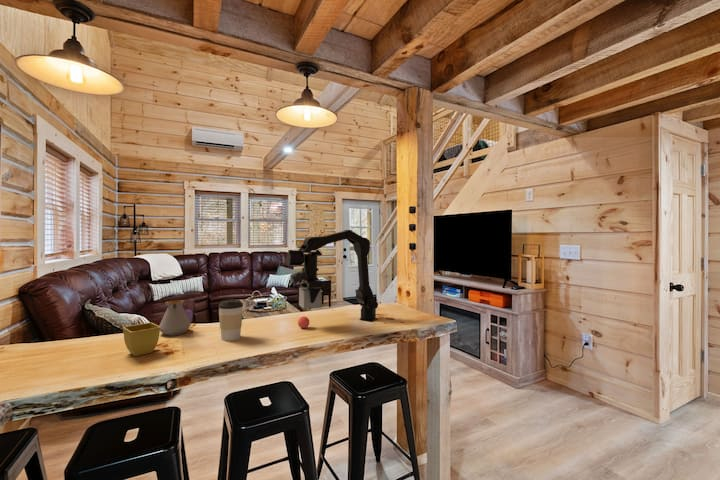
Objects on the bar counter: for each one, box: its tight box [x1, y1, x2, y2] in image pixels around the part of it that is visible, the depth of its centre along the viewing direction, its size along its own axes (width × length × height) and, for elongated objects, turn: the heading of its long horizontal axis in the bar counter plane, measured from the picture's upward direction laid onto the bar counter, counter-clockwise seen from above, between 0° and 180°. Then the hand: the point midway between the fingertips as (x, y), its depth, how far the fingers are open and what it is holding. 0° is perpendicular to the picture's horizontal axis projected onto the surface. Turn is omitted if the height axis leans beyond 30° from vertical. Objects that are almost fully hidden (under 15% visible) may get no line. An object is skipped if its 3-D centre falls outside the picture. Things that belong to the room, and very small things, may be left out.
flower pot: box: [122, 322, 161, 357], centre depth 112 cm, size 9×9×9 cm
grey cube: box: [298, 287, 323, 310], centre depth 145 cm, size 8×8×8 cm
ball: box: [297, 316, 310, 329], centre depth 144 cm, size 5×5×5 cm
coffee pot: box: [158, 299, 192, 337], centre depth 130 cm, size 21×12×15 cm, turn 29°
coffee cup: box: [218, 298, 244, 342], centre depth 129 cm, size 9×9×15 cm
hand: (309, 301), depth 144 cm, fingers closed on grey cube, 8 cm apart
